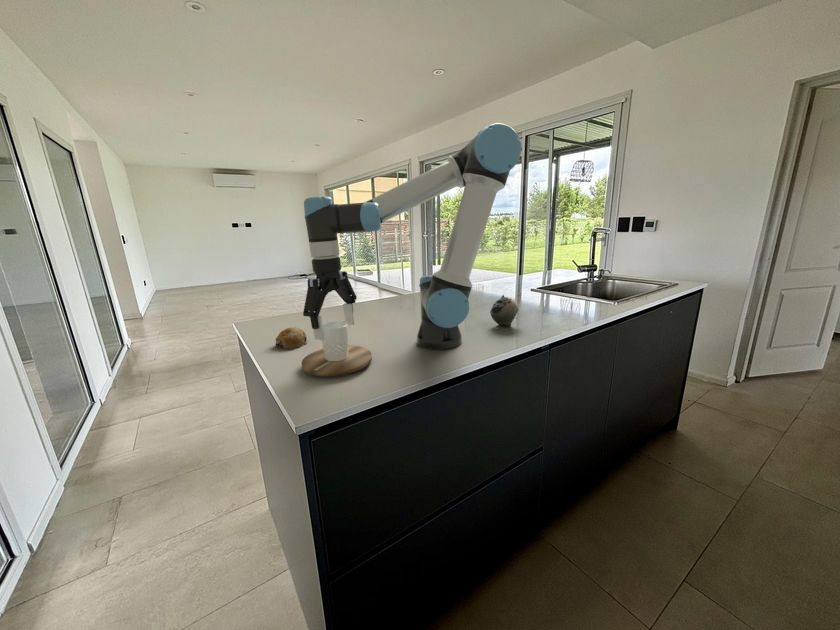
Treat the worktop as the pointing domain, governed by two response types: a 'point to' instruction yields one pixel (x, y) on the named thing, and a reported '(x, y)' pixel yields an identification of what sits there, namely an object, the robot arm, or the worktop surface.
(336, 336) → the white cup
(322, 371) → the turntable
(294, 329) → the bread roll
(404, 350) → the worktop surface
